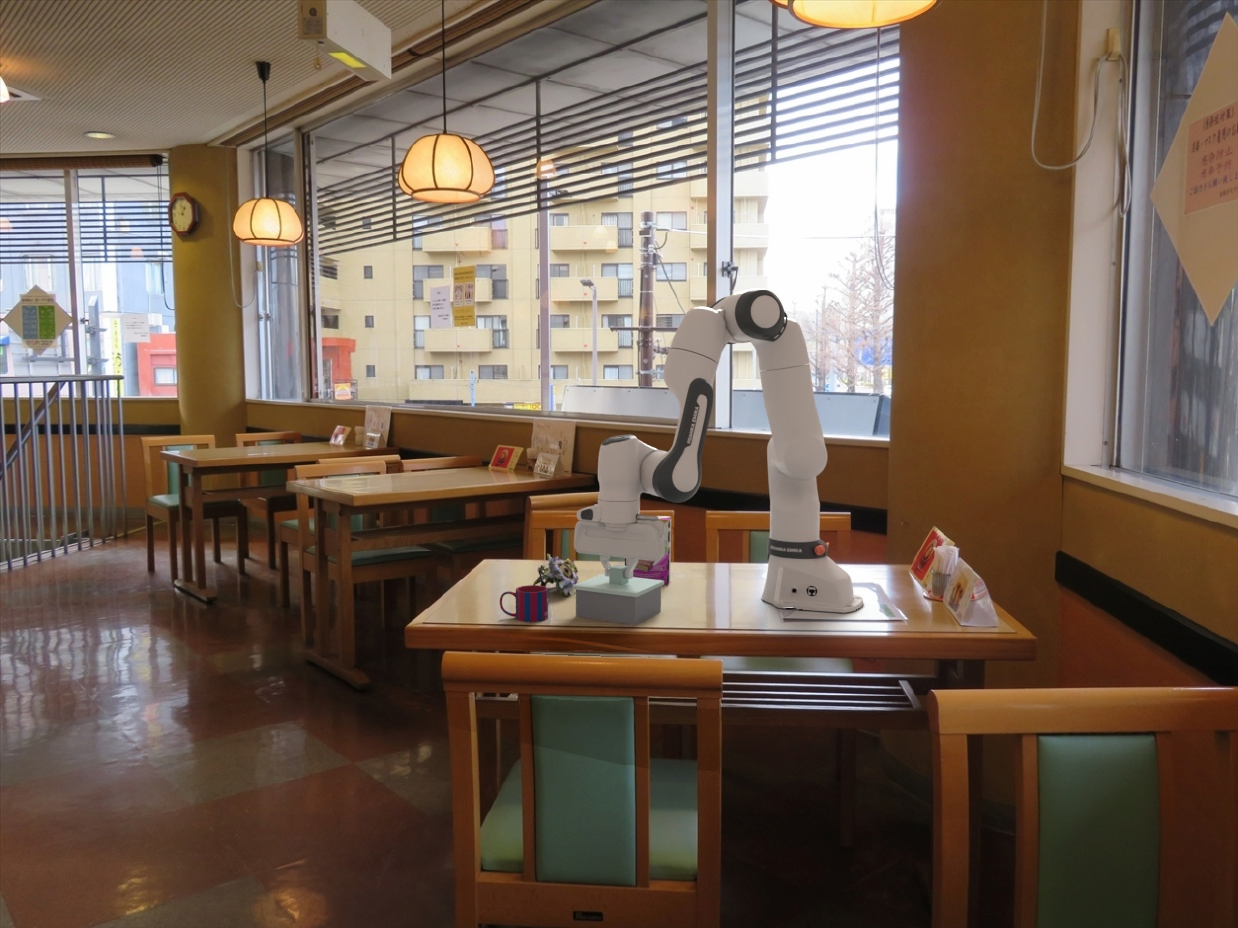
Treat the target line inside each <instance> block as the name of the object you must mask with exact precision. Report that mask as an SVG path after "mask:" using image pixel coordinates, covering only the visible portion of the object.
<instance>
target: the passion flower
mask: <svg viewBox="0 0 1238 928" xmlns="http://www.w3.org/2000/svg"><path fill="white" fill-rule="evenodd" d="M546 557H547V561H548V564H547V565H548V567H546V565H544V564H541V565H540V567H539V566H538V568H537V573H538V575H539V577H537V579H535V580H534V581H533V584H532V585H538V584H540V585H539V586H545V587H547V584H549V583H550V584H552V585H553V584H555V588H556V590H558V591H560V593H561V595H563V596H565V598H566V597H567V596H574V595H575V591H574V590H575V589H573V585H575V584H577V583H579V582H578V581H579V575H577V574H578V573H579V572H578V570H579V569H578V566H577V565H576V564H575V559H573V558H572V559H571V560H570V558H567V559H565V558H563V559H560V558H559V557H558V556H554V557H551V554H549V553H547V554H546ZM564 559H565V560H564ZM545 567H546V568H545ZM544 580H545V581H544Z"/></svg>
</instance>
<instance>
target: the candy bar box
mask: <svg viewBox="0 0 1238 928" xmlns="http://www.w3.org/2000/svg"><path fill="white" fill-rule="evenodd" d="M656 516H657V517H658V518H660V519H661V520H662V522H663V523H664V533H663V537H664V545H665V555H664V556H663V557H662V558H661V559H659V560H657V561H651V560H641V559H638V563H637V565H636V567H635V568H634V570H633V577H637V578H645V579H654V580H662V581H664V585H667V586H668V585H670V581H671V560H672V559H671V555H672V554H671V552H672V551H671V550H672V545H671V544H672V542H671V541H672V516H667V515H664V516H663V515H656ZM657 521H659V520H657ZM629 565H630V563H628V558H624V566H628V567H629Z"/></svg>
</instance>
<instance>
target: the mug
mask: <svg viewBox="0 0 1238 928" xmlns="http://www.w3.org/2000/svg"><path fill="white" fill-rule="evenodd" d="M508 594H509V595H512V596H513V597H515V613H514V612H509V611H507V610H506V609H505V608H504V606H503V598H504V596H505V595H508ZM499 597H500V598H499V606H500V610H501V611H502V612H503V613H504V614H505V615H506V616H507V615H508V616H510V617H514V618H515V619H516V620H517V621H518V622H523V623H539V622H544V621H546V620H548V619H549V588H548V587H547V586H540V585H538V584H536V585H533V584H529V585H521V586H517V587H516V588H515V592H514V591H510V590H509V591H504V592H503V593H502V594H501V595H500V596H499Z"/></svg>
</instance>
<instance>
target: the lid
mask: <svg viewBox="0 0 1238 928" xmlns="http://www.w3.org/2000/svg"><path fill="white" fill-rule="evenodd" d="M626 569H628V566H625V565H623V564H621V565H620V564H614V565H611V567H609V577H607V576H605V573H601V574H598V575H595V576H593V577H591V578H588V579H585V580H583V581H580V582H578V583H577V584H575V585H573V590H575V591H576V590H584V591H592V592H599V593H607V594H615V595H623V596H631V597H638V596H640V595H642V594H645V593H647V592H649V591H651V590H653V589H655V588H657V587H660V586H661V587H662V586H664V585H665V584H664V581H662V580H654V579H645V578H637V577H633V578H632V579H624V578H623V575H624V574H623V571H624V570H626Z"/></svg>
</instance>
